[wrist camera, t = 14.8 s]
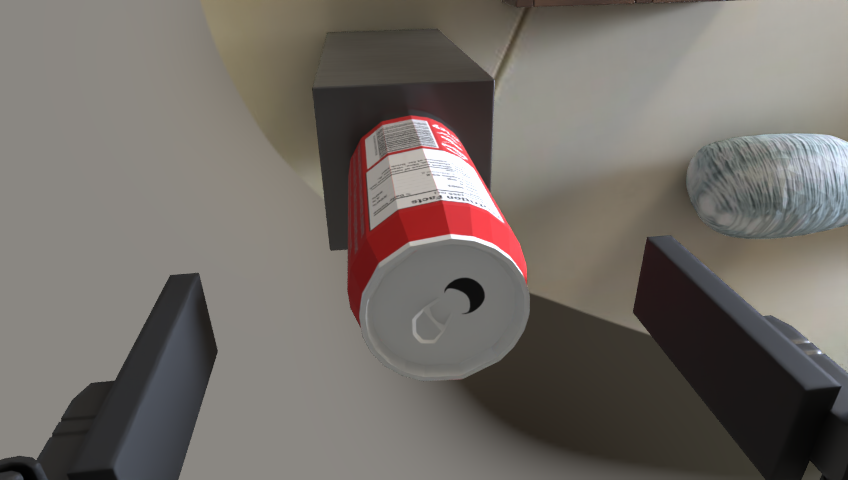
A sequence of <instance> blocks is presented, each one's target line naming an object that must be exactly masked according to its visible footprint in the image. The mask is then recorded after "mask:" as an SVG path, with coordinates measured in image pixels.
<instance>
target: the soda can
mask: <svg viewBox="0 0 848 480" xmlns="http://www.w3.org/2000/svg"><path fill="white" fill-rule="evenodd" d="M348 296H349V302H350V308H351V310H352V312H353V314H354V316H355V318H356V320H357V321H358V323H359V325H360V327H361V330H362V336H363V338H364V340H365V342H366V344H367V346H368V348H369V350H370V351H371V353H372V354H373V355H374V356H375V357H376V358H377V359H378V360H379V361H380V362H381V363H382V364H383V365H384V366H386V367H387V368H389V369H391V370H393V371H395V372H396V373H398V374H400V375H402V376H405V377H409V378H412V379H416V380H419V381H434V380H459V379H463V378H465V377H467V376H469V375H471V374H474V373H476V372H478V371H480V370H482V369H484V368H486V367H488V366H490V365H492V364H494V363H496V362H498V361H500V360H501V359H502V358H503V357H504V356H505V355H506V354H507V353H508V352H509V351H510V350H511V349H512V348H513V347H514V346H515V344H516V343H517V341H518V340H519V338H520V336H521V335H522V333H523V332H524V329H525V326H526V323H527V320H528V317H529V313H530V293H529V290H528V287H527V268H526V262H525V259H524V256H523V253H522V250H521V247H520V244H519V242H518V240H517V239H516V237H515V235H514V233H513V232H512V230H511V228H510V226H509V225H508V223H507V221H506V219H505V218H504V216H503V214H502V213H501V211H500V209H499V207H498V206H497V204H496V202H495V200H494V199H493V197H492V195H491V193H490V192H489V190H488V188H487V187H486V185H485V183H484V181H483V180H482V178H481V176H480V174H479V173H478V171H477V169H476V167H475V166H474V164H473V162H472V160H471V159H470V157H469V155H468V154H467V152H466V150H465V148H464V147H463V145H462V143H461V142H460V141H459V139H458V138H457V136H456V135H455V134H454V133H453V132H452V131H450V130H449V129H448V128H447V127H445V126H444V125H443V124H442V123H440V122H437V121H435V120H433V119H430V118H427V117H419V116H412V115H410V116H405V117H400V118H396V119H391V120H386V121H382V122H380V123H379V124H378V125H377V126H376V127H374V128H373V129H372V130H371V131H369V132H368V133H367V134H366V135H364V136H363V137H362V138H361V139H360V141H359V143H358V145H357V147H356V149H355V151H354V153H353V155H352V157H351V159H350V167H349V175H348Z"/></svg>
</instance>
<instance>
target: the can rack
mask: <svg viewBox="0 0 848 480" xmlns="http://www.w3.org/2000/svg"><path fill="white" fill-rule="evenodd" d="M702 1H733V0H502V2H503V3H505V4H508V5H511V6H514V7H547V6H578V5H609V4H634V3H636V4H639V3H671V2H702Z"/></svg>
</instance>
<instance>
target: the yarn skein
mask: <svg viewBox="0 0 848 480" xmlns="http://www.w3.org/2000/svg"><path fill="white" fill-rule="evenodd" d="M686 186H687V191H688V194H689V196H690V200H691V203H692V205H693V207H694V208H695V210H696V212H697V213H698V215H699V217H700V218H701V220H702V221H703V222H704V223H705V224H706V225H707V226H709V227H710V228H712V229H713V230H715V231H717V232H719V233H721V234H724V235H727V236H730V237H737V238H745V239H772V238H783V237H792V236H799V235H806V234H811V233H815V232H820V231H825V230H830V229H833V228H836V227H842V226H845V225H848V142H846V141H844V140H842V139H839V138H837V137H834V136H831V135H820V134H799V133H796V134H764V135H754V136H746V137H734V138H731V139H727V140H723V141H718V142H714V143H712V144H709V145H707V146H704V147H703V148H701V149H700V150H699V151H698V152H697V153H696V154H695V156H694V157H693V158H692V159H691V161H690V164H689V166H688V171H687V175H686Z"/></svg>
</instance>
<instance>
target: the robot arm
mask: <svg viewBox="0 0 848 480" xmlns="http://www.w3.org/2000/svg"><path fill="white" fill-rule="evenodd" d="M633 313H634V314H635V316H636V317H637V318H638V319H639V321H640V322H641V323H642V325H643V326H644V327H645V328H646V330H647V331H648V332H649V333H650V335H651V336H652V337H653V338H654V340H655V341H656V342H657V343H658V344H659V346H660V347H661V348H662V350H663V351H664V352H665V353H666V355H667V356H668V357H669V359H670V360H671V361H672V362H673V363H674V365H675V366H676V367H677V369H678V370H679V371H680V372H681V374H682V375H683V376H684V377H685V379H686V380H687V381H688V382H689V384H690V385H691V386H692V387H693V389H694V390H695V391H696V393H697V394H698V395H699V396H700V397H701V399H702V400H703V401H704V403H705V404H706V405H707V406H708V407H709V409H710V410H711V411H712V413H713V414H714V415H715V416H716V418H717V419H718V420H719V422H721V424H722V425H723V427H724V428H725V429H726V430H727V431H728V433H729V434H730V435H731V436H732V438H733V439H734V440H735V442H736V443H737V444H738V445H739V447H740V448H741V449H742V450H743V452H744V453H745V454H746V456H747V457H748V458H749V459H750V461H751V462H752V463H753V464H754V466H755V467H756V468H757V469H758V471H759V472H760V473H761V474H762V476H763V477H764V478H765V479H766V480H801V479H802V477H803V475H804V472H805V470H806V468H807V465H808V463H809V461H811V462H812V463H813V464H814V465H815V466H816V467H817V469H818V470H819V471H821V473H822V476H821V478H820V480H848V373H847V372H846V371H845V370H843V369H842V368H841V367H840V366H839V365H837V364H836V363H835V362H834V361H833V360H832V359H830V358H829V357H828V356H827V355H826V354H822V353H821V350H820V349H819V348H817V347H816V346H815V345H814V344H813V343H809V342H808V339H807V338H806V337H804V336H803V335H802V334H801V333H800V332H798V331H797V330H796V329H795V328H794V327H792V326H791V325H789V324H787V323H785V322H783V321H781V320H779V319H777V318H775V317H773V316H771V315H770V316H762V315H761V314H760V313H759V312H757V311H756V310H755V309H754V308H753V307H752V306H751V305H750V304H748V303H747V302H746V301H745V300H744V299H743V298H742V297H740V296H739V295H738V294H737V293H736V292H735V291H734V290H732V289H731V288H730V287H729V286H728V285H727V284H726V283H724V282H723V281H722V280H721V279H720V278H719V277H718V276H717V275H715V274H714V273H713V272H712V271H711V270H710V269H709V268H707V267H706V266H705V265H704V264H703V263H702V262H701V261H699V260H698V259H697V258H696V257H695V256H694V255H693V254H692V253H690V252H689V251H688V250H687V249H686V248H685V247H684V246H682V245H681V244H680V243H679V242H678V241H677V240H676V239H674V238H673V237H672V236H671V235H668V236H656V237H647V239H646V245H645V250H644V255H643V261H642V266H641V271H640V276H639V282H638V287H637V292H636V298H635V303H634V308H633ZM217 351H218V350H217V346H216V342H215V338H214V334H213V330H212V326H211V321H210V318H209V313H208V309H207V305H206V301H205V296H204V292H203V288H202V284H201V280H200V276H199V273H192V274H179V275H170V277H169V279H168V281H167V282H166V284H165V286H164V288H163V290H162V292H161V294H160V296H159V298H158V299H157V301H156V303H155V305H154V307H153V309H152V311H151V313H150V315H149V317H148V319H147V320H146V323H145V324H144V326H143V328H142V330H141V332H140V334H139V336H138V338H137V340H136V342H135V343H134V345H133V347H132V349H131V351H130V353H129V355H128V357H127V359H126V361H125V362H124V364H123V366H122V368H121V370H120V372H119V374H118V376H117V378H116V380H115V381H107V382H97V383H91V384H90V385H89V386H87V387H86V388H85V389H84V390H83V391H82V392H81V393H80V394H78V395H77V396H76V397H75V398H74V399H73V400H72V401H71V403H70V405H69V406H68V408H67V410H66V411H65V413H64V415H63V416H62V418H61V422H59V423H58V425H57V426H56V428H55V430H54V432H53V433H52V437H51V438H49V440H48V441H47V443H46V445H45V447H44V449H43V450H42V452H41V453H40V455H39V457H38V458H37V460H35V459H34V458H32V457H24V456H17V457H11V458H6V459H2V460H0V480H178V479H179V475H180V472H181V469H182V466H183V462H184V459H185V456H186V453H187V450H188V446H189V443H190V440H191V437H192V433H193V430H194V427H195V423H196V420H197V417H198V414H199V411H200V407H201V404H202V400H203V397H204V394H205V391H206V388H207V385H208V381H209V378H210V374H211V372H212V368H213V365H214V362H215V359H216V355H217Z"/></svg>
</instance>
